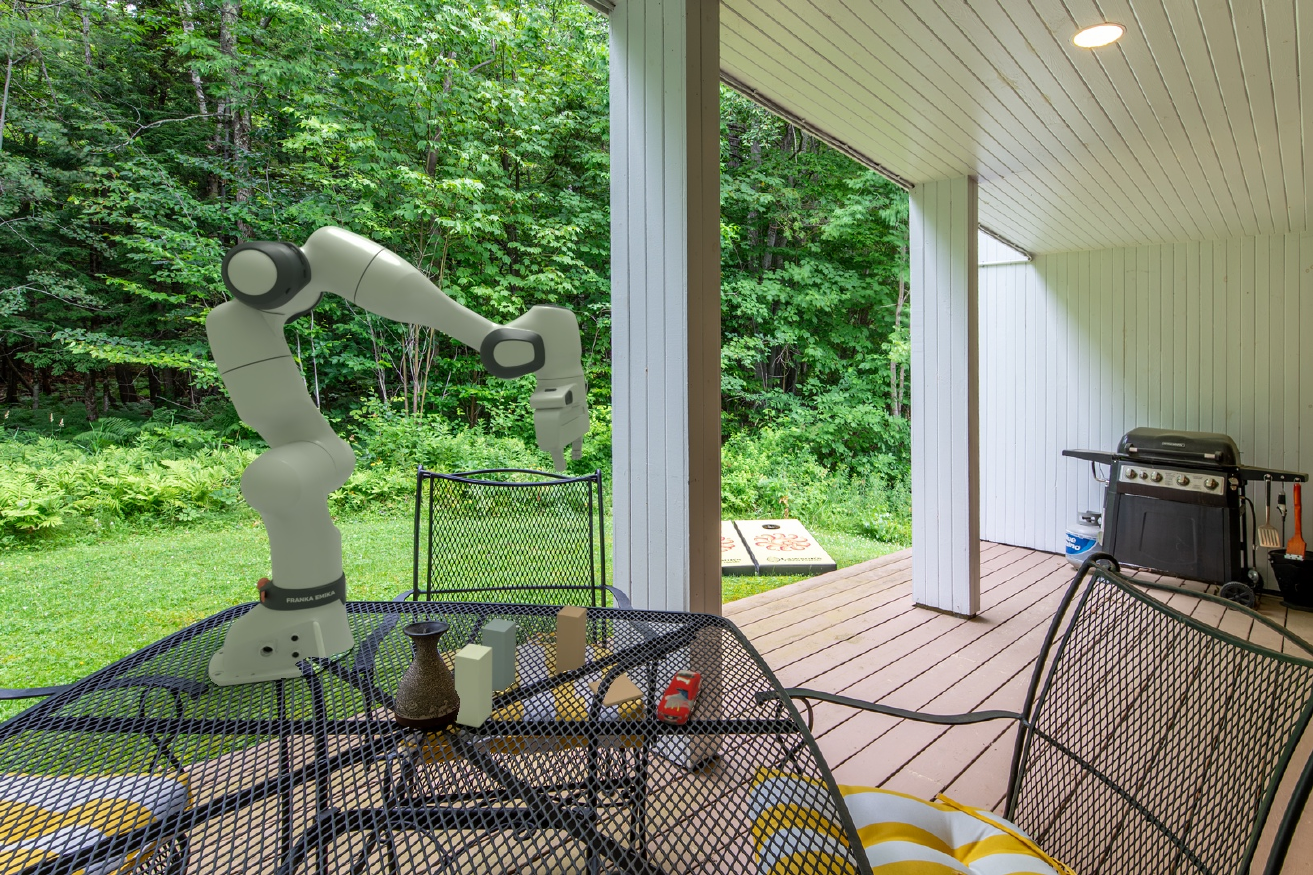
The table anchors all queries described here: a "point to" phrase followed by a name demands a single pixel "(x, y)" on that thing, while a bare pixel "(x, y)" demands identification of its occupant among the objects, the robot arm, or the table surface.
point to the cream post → (474, 684)
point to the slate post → (501, 651)
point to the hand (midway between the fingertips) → (569, 464)
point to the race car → (679, 698)
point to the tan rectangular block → (571, 638)
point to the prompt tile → (618, 691)
